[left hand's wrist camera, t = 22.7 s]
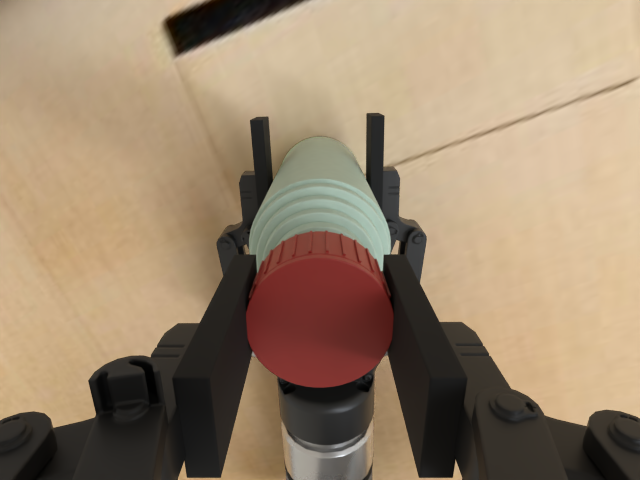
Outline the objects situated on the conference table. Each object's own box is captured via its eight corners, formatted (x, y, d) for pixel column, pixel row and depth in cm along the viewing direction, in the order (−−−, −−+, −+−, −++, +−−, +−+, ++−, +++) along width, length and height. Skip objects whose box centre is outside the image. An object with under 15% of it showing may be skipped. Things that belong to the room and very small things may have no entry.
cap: (366, 355, 16) (374, 399, 14) (245, 333, 15) (233, 375, 13) (399, 243, 14) (415, 273, 12) (266, 216, 14) (256, 242, 12)
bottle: (373, 191, 34) (452, 348, 14) (305, 228, 35) (285, 422, 15) (335, 120, 32) (363, 181, 12) (265, 162, 33) (179, 280, 13)
